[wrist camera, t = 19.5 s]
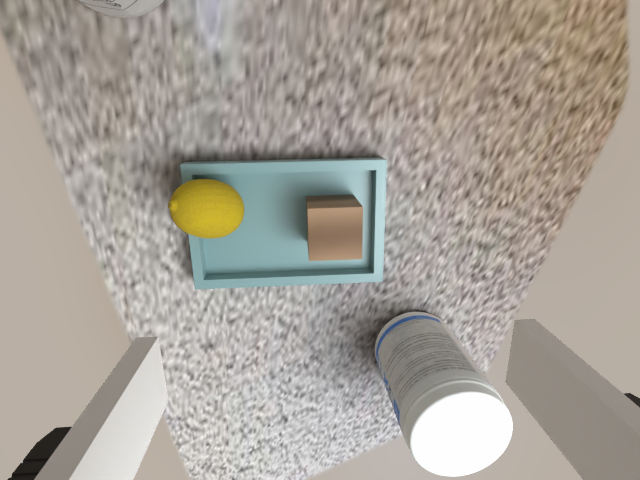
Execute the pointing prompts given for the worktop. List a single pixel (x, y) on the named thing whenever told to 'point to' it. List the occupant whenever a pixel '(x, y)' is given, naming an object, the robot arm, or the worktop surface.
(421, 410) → the supplement tub
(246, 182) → the tray
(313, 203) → the walnut block
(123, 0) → the mug
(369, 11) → the worktop surface
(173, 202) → the lemon
